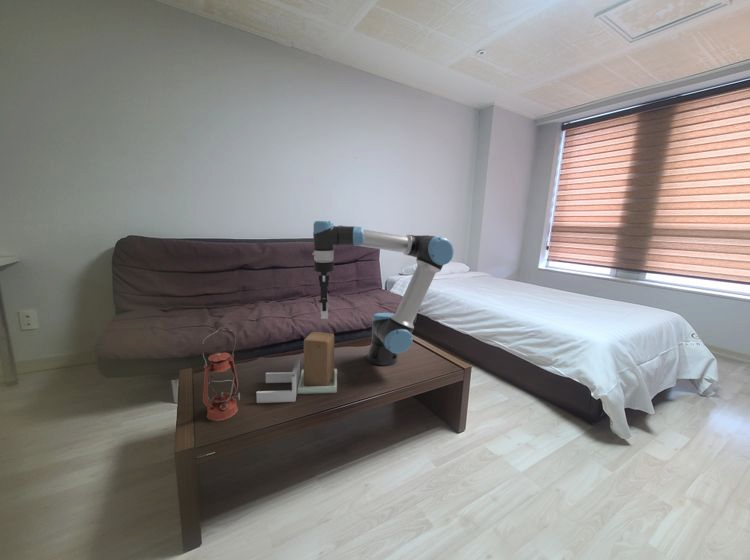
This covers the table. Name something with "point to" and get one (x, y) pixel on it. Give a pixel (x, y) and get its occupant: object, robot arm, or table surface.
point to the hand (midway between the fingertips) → (324, 313)
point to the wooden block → (318, 359)
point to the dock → (281, 378)
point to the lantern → (222, 402)
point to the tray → (317, 389)
